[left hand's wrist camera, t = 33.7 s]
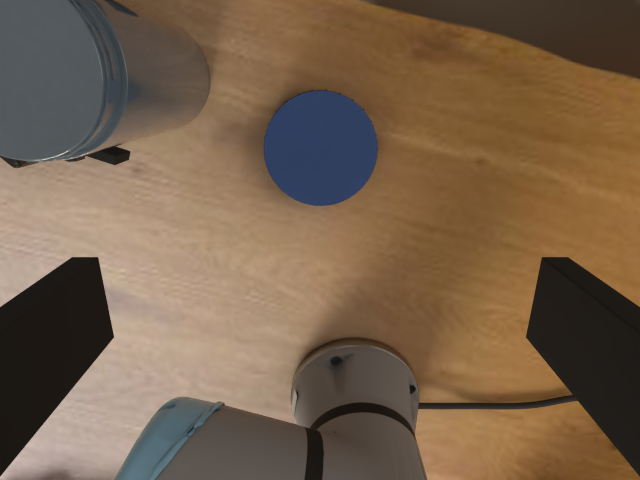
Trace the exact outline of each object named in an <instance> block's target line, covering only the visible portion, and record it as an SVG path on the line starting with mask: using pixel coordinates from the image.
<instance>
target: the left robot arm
mask: <svg viewBox="0 0 640 480" xmlns="http://www.w3.org/2000/svg"><path fill="white" fill-rule="evenodd" d="M113 338H114V335H113V330H112V325H111V320H110V315H109V310H108V305H107V300H106V295H105V290H104V285H103V280H102V275H101V270H100V265H99V260H98V257H72V258H70V259H69V260H68V261H66V262H65V263H63V264H62V265H60V266H59V267H57V268H56V269H55V270H53V271H52V272H50V273H49V274H47V275H46V276H44V277H43V278H42V279H40V280H39V281H37V282H36V283H34V284H33V285H32V286H30V287H29V288H27V289H26V290H24V291H23V292H21V293H20V294H19V295H17V296H16V297H14V298H13V299H11V300H10V301H8V302H7V303H6V304H4V305H3V306H1V307H0V476H1V475H2V474H3V472H4V471H5V470H6V469H7V467H8V466H9V465H10V464H11V463H12V461H13V460H14V459H15V458H16V456H17V455H18V454H19V453H20V452H21V450H22V449H23V448H24V447H25V445H26V444H27V443H28V442H29V441H30V439H31V438H32V437H33V436H34V434H35V433H36V432H37V431H38V430H39V428H40V427H41V426H42V425H43V423H44V422H45V421H46V420H47V419H48V417H49V416H50V415H51V414H52V412H53V411H54V410H55V409H56V408H57V406H58V405H59V404H60V403H61V401H62V400H63V399H64V398H65V397H66V395H67V394H68V393H69V392H70V390H71V389H72V388H73V387H74V386H75V384H76V383H77V382H78V381H79V379H80V378H81V377H82V376H83V375H84V373H85V372H86V371H87V370H88V368H89V367H90V366H91V365H92V364H93V362H94V361H95V360H96V359H97V357H98V356H99V355H100V354H101V353H102V351H103V350H104V349H105V348H106V346H107V345H108V344H109V343H110V341H111V340H112V339H113ZM526 338H527V339H528V340H529V341H530V343H531V344H532V345H533V346H534V348H535V349H536V350H537V351H538V353H539V354H540V355H541V356H542V357H543V359H544V360H545V361H546V362H547V364H548V365H549V366H550V367H551V368H552V370H553V371H554V372H555V373H556V375H557V376H558V377H559V378H560V379H561V381H562V382H563V383H564V384H565V386H566V387H567V388H568V389H569V390H570V392H571V393H572V394H573V395H570V396H563V397H558V398H553V399H548V400H543V401H536V402H527V403H419V390H418V385H417V382H416V379H415V376H414V373H413V370H412V368H411V367H410V365H409V363H408V362H407V361H406V359H405V358H404V357H403V356H402V355H401V354H400V353H399V352H397V351H396V350H394V349H393V348H391V347H390V346H388V345H386V344H383V343H381V342H378V341H374V340H370V339H363V338H349V339H342V340H337V341H333V342H330V343H328V344H325V345H323V346H321V347H319V348H318V349H316V350H315V351H313V352H312V353H311V354H309V355H308V356H307V357H306V358H305V359H304V360H303V361H302V363H301V364H300V365H299V367H298V369H297V371H296V373H295V375H294V378H293V383H292V391H291V405H292V407H291V411H292V414H293V416H294V417H295V420H296V422H297V425H296V424H292V423H288V422H285V421H281V420H277V419H274V418H270V417H266V416H262V415H259V414H255V413H251V412H247V411H244V410H240V409H236V408H232V407H229V406H225V403H223V402H217V403H213V402H208V401H203V400H198V399H194V398H189V397H178V398H175V399H172V400H170V401H168V402H167V403H165V404H164V405H163V406H162V407H161V408H160V409H159V410H158V411H157V412H156V413H155V415H154V416H153V417H152V418H151V420H150V421H149V423H148V424H147V425H146V427H145V428H144V430H143V431H142V433H141V435H140V436H139V438H138V439H137V441H136V443H135V444H134V446H133V448H132V449H131V451H130V453H129V454H128V456H127V458H126V460H125V461H124V463H123V465H122V467H121V469H120V471H119V473H118V474H117V476H116V478H115V480H427V477H426V473H425V470H424V466H423V462H422V459H421V455H420V452H419V448H418V445H417V441H416V438H415V428H416V421H417V413H418V409H529V408H538V407H545V406H550V405H555V404H560V403H566V402H572V401H579V403H580V404H581V405H582V406H583V408H584V409H585V410H586V411H587V412H588V414H589V415H590V416H591V417H592V419H593V420H594V421H595V422H596V423H597V425H598V426H599V427H600V428H601V430H602V431H603V432H604V433H605V434H606V436H607V437H608V438H609V439H610V441H611V442H612V443H613V444H614V445H615V447H616V448H617V449H618V450H619V452H620V453H621V454H622V455H623V456H624V458H625V459H626V460H627V461H628V463H629V464H630V465H631V466H632V467H633V469H634V470H635V471H636V472H637V474H638V475H639V476H640V307H639V306H637V305H636V304H634V303H633V302H632V301H630V300H629V299H627V298H626V297H624V296H623V295H621V294H620V293H619V292H617V291H616V290H614V289H613V288H611V287H610V286H608V285H607V284H606V283H604V282H603V281H601V280H600V279H598V278H597V277H596V276H594V275H593V274H591V273H590V272H588V271H587V270H585V269H584V268H583V267H581V266H580V265H578V264H577V263H575V262H574V261H572V260H571V259H570V258H568V257H542V260H541V265H540V270H539V275H538V280H537V285H536V290H535V295H534V300H533V305H532V310H531V315H530V320H529V325H528V330H527V335H526Z"/></svg>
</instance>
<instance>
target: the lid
mask: <svg viewBox="0 0 640 480" xmlns="http://www.w3.org/2000/svg"><path fill="white" fill-rule="evenodd" d="M371 122H372V121H371V120H370V119H369V117H368V116H367V114H366V113H365V112H364V109H362V108H361V107H360V106H359V105H358V104H356V103H355V102H354V100H353V99H349V98H348V97H346V96H343V95H341V93H335V92H331V91H327V90H326V91H324V90H317V91H313V90H311V91H310V92H306V93H303V94H298V96H296V97H294V98H292V99H290V100H289V101H286V103H285V104H284V105H283V106H282V107H281V108H280V109H279V110H278V111H276V113H275V115H274V116H273V118H272V120H271V121H270V123H269V124H268V125H269V126H268V128H267V131H266V135H265V137H264V138H265V140H264V156H265V162H266V166H267V168H268V171H269V173H270V175H271V177H272V179H273V180H274V182H275V183H276V184H277V186H278V187H279V188H280V189H281V190H282V191H283V192H284V193H286V194H287V195H288V196H290V197H291V198H293V199H295V200H297V201H299V202H302V203H305V204H309V205H315V206H325V205H332V204H336V203H339V202H342V201H344V200H346V199H348V198H350V197H351V196H353V195H354V194H356V193H357V192H358V191H359V190H360V189H361V188H362V187H363V186H364V185H365V184H366V182H367V181H368V179H369V178H370V176H371V174H372V172H373V169H374V166H375V163H376V158H377V149H378V148H377V138H376V133H375V130H374V127H373V125H372V123H371Z"/></svg>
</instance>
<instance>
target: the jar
mask: <svg viewBox="0 0 640 480" xmlns="http://www.w3.org/2000/svg"><path fill="white" fill-rule="evenodd" d="M209 87H210V75H209V69H208V65H207V62H206V59H205V57H204V54H203V52H202V50H201V49H200V47H199V45H198V44H197V43H196V41H195V40H194V39H193V38H192V37H191V36H190V35H189V34H188V33H187V32H186V31H185V30H183V29H182V28H180V27H179V26H177V25H175V24H173V23H171V22H169V21H167V20H164V19H162V18H159V17H157V16H155V15H152V14H150V13H148V12H145V11H143V10H141V9H138V8H136V7H134V6H131V5H129V4H127V3H124V2H122V1H119V0H0V156H3V157H7V158H10V159H16V160H22V161H27V162H42V161H53V160H67V159H73V158H77V157H81V156H84V155H87V154H91V153H94V152H98V151H101V150H104V149H108V148H111V147H114V146H118V145H121V144H125V143H128V142H131V141H135V140H138V139H141V138H145V137H148V136H152V135H155V134H158V133H162V132H165V131H168V130H172V129H175V128H179V127H181V126H184V125H185V124H187V123H189V122H190V121H192V120H193V119H194V118H195V117H196V116H197V115H198V114H199V113H200V111H201V110H202V108H203V107H204V105H205V103H206V100H207V97H208V93H209Z"/></svg>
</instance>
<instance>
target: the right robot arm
mask: <svg viewBox="0 0 640 480" xmlns="http://www.w3.org/2000/svg"><path fill="white" fill-rule="evenodd" d="M85 156H88V157H91V158H94V159H98V160H101V161H104V162H107V163H110V164H113V165H116V164H119V163H121V162H124V161H127V160H129V156H130V151H127V150H124V149H121V148H118V147H115V146H114V147H111V148H108V149H104V150H101V151H98V152H94V153H91V154H87V155H84V156H81V157H77V158H73V159H67V160H65V161H69V162H75V161H79V160H82V159H85ZM0 157H1V158H2V159H3V160H5V161H6V162H7V163H8V164H10V165H11V166H12V167H14V168H20V167H24V166H28V165H31V164H35V163H38V162H27V161H22V160H16V159H10V158H7V157H3V156H0Z"/></svg>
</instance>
